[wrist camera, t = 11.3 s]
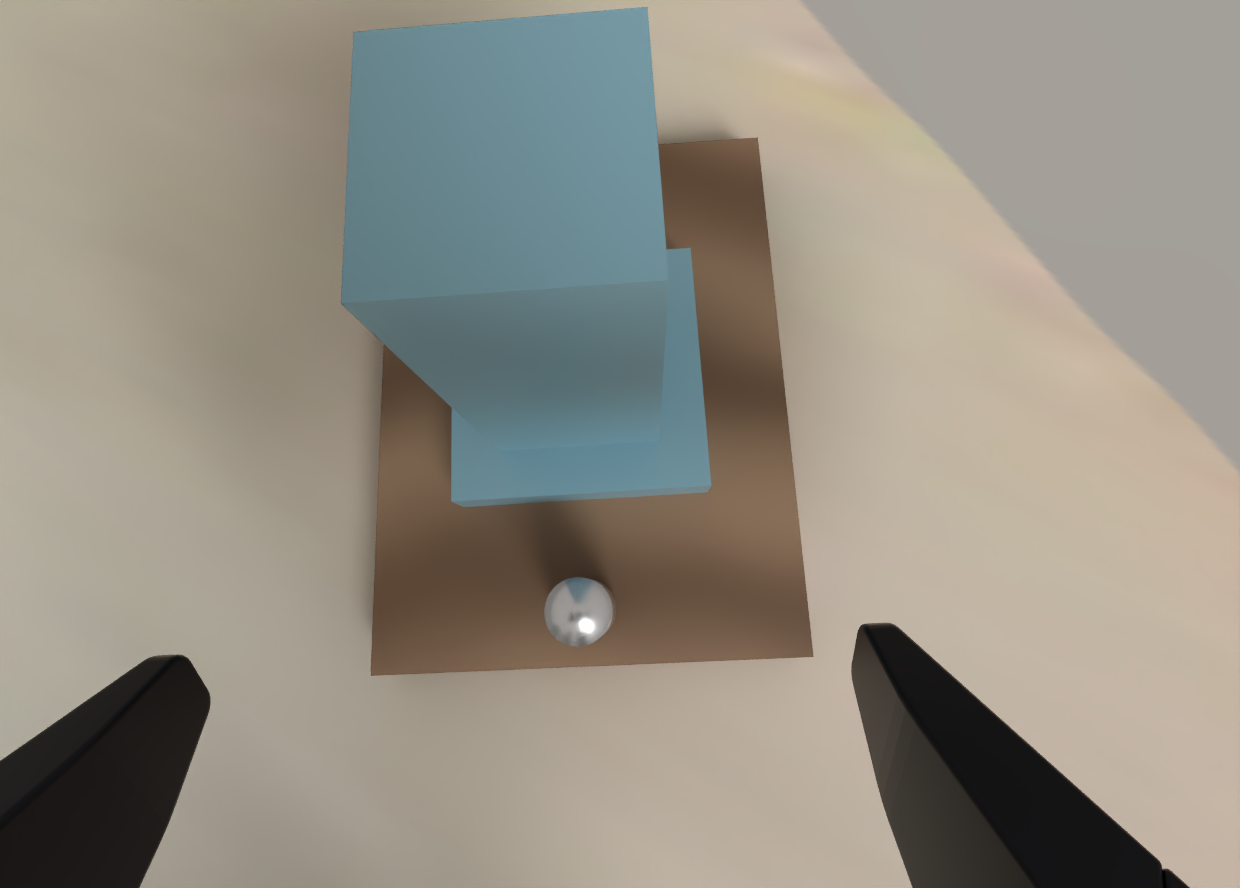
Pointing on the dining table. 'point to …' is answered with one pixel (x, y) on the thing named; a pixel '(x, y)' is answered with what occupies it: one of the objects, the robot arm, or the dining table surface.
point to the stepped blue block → (527, 253)
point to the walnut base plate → (615, 527)
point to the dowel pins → (579, 611)
